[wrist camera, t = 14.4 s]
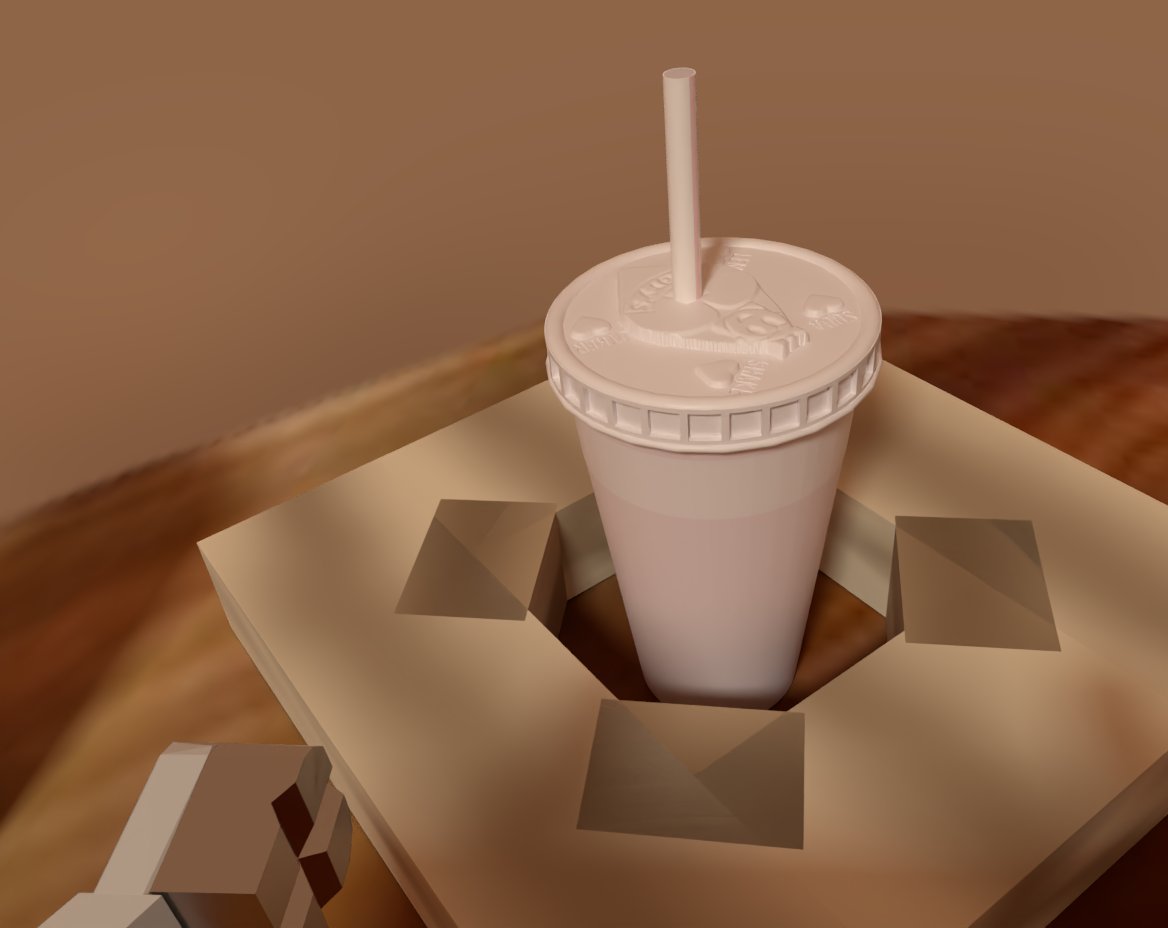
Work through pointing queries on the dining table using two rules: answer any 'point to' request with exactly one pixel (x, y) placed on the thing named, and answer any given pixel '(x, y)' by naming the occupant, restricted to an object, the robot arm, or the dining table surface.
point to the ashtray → (718, 734)
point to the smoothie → (714, 432)
